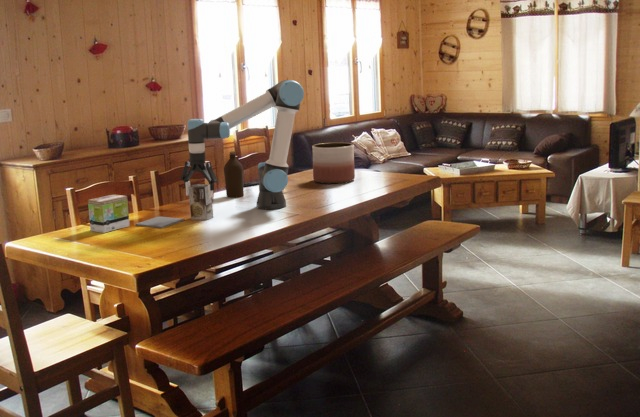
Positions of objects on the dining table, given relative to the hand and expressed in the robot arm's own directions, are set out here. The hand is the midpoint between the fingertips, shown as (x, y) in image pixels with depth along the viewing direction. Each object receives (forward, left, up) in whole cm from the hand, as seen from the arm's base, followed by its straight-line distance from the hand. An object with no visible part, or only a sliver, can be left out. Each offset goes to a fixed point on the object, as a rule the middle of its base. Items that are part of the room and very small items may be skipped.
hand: (199, 196), depth 323 cm
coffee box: (0, 0, -11) cm, 11 cm away
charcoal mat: (+13, +15, -11) cm, 22 cm away
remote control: (+27, -82, -12) cm, 87 cm away
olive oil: (+16, -50, -11) cm, 54 cm away
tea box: (+28, +32, -11) cm, 44 cm away
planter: (-15, -110, -11) cm, 112 cm away
